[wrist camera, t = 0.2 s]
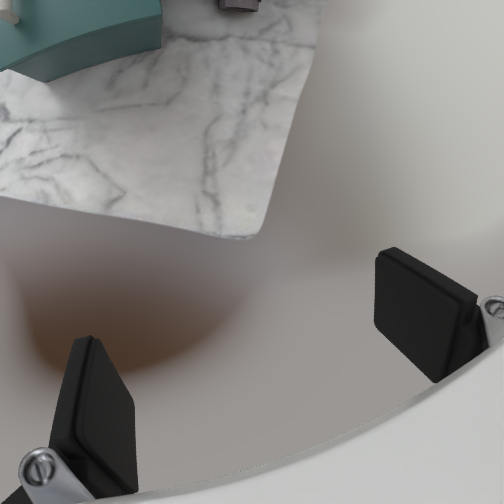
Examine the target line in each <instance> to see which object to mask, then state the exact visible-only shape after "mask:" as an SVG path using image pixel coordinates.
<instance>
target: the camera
mask: <svg viewBox="0 0 504 504" xmlns="http://www.w3.org/2000/svg"><path fill="white" fill-rule="evenodd" d="M259 2H261V0H219V8H218V9H220V10H225V11H234V12H258V6H259Z"/></svg>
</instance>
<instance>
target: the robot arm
mask: <svg viewBox="0 0 504 504" xmlns="http://www.w3.org/2000/svg"><path fill="white" fill-rule="evenodd" d="M477 298H478V295H476V294H475V293H473V292H471V291H470V290H468V289H466V288H465V287H463V286H462V285H460V284H458V283H457V282H455V281H453V280H452V279H450V278H448V277H447V276H445V275H443V274H442V273H440V272H438V271H437V270H435V269H433V268H431V267H430V266H428V265H426V264H425V263H423V262H421V261H419V260H418V259H416V258H414V257H412V256H411V255H409V254H407V253H405V252H403V251H402V250H400V249H398V248H396V247H392V248H389V249H386V250H383V251H380V252H379V254H378V257H376V260H375V304H374V307H375V308H374V324H375V326H376V328H377V329H378V330H379V331H380V332H381V333H382V334H383V335H384V336H385V337H386V338H387V339H388V340H389V341H390V342H391V343H393V345H395V346H396V347H397V348H398V349H399V350H400V351H401V352H402V353H403V354H404V355H405V356H406V357H407V358H408V359H409V360H410V361H411V362H412V363H414V365H415V366H416V367H417V368H419V370H420V371H422V372H423V373H424V374H425V375H426V376H427V377H428V378H429V379H430V380H431V381H432V382H433V383H437V384H435V385H434V386H432V387H430V388H429V389H427V390H425V391H424V392H422V393H420V394H419V395H417V396H415V397H414V398H412V399H410V400H408V401H407V402H405V403H403V404H401V405H399V406H398V407H396V408H394V409H392V410H390V411H388V412H387V413H385V414H383V415H381V416H379V417H377V418H375V419H373V420H371V421H369V422H367V423H365V424H363V425H361V426H359V427H357V428H355V429H352V430H350V431H348V432H346V433H344V434H342V435H339V436H337V437H335V438H332V439H330V440H328V441H326V442H323V443H321V444H318V445H316V446H313V447H311V448H308V449H306V450H303V451H301V452H298V453H295V454H292V455H290V456H287V457H284V458H281V459H279V460H276V461H272V462H270V463H266V464H263V465H260V466H257V467H254V468H251V469H247V470H244V471H240V472H237V473H233V474H230V475H226V476H222V477H218V478H214V479H210V480H206V481H202V482H197V483H192V484H187V485H183V486H178V487H173V488H168V489H162V490H157V491H150V492H144V493H137V494H134V493H136V492H138V475H137V461H136V439H135V406H134V402H133V399H132V397H131V395H130V393H129V391H128V390H127V388H126V386H125V385H124V383H123V381H122V379H121V378H120V376H119V374H118V372H117V371H116V369H115V367H114V365H113V363H112V361H111V360H110V358H109V356H108V354H107V352H106V351H105V348H104V346H103V344H102V342H101V341H100V339H98V338H97V339H95V338H94V337H93V336H91V335H90V336H86V337H81V338H78V339H75V340H74V343H73V346H72V349H71V353H70V356H69V360H68V363H67V367H66V371H65V375H64V378H63V382H62V386H61V390H60V394H59V398H58V402H57V407H56V411H55V415H54V420H53V425H52V430H51V436H50V441H49V447H48V448H47V447H40V448H36V449H34V450H32V451H30V452H29V453H28V454H27V455H26V456H25V457H24V458H23V459H22V461H21V463H20V466H19V470H18V474H19V475H18V477H19V479H20V482H21V484H22V485H21V486H20V487H19V488H18V489H17V490H16V491H15V492H14V493H12V494H11V495H10V496H9V497H8V498H7V499H6V500H5V501H3V502H2V503H1V504H504V297H502V296H489V297H487V298H485V299H484V300H482V302H481V304H480V307H479V306H478V305H476V303H477Z"/></svg>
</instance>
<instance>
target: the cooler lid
mask: <svg viewBox="0 0 504 504" xmlns="http://www.w3.org/2000/svg"><path fill="white" fill-rule="evenodd" d="M158 17H162V9H161V3H160V0H0V72H2V71H4V70H6V69H8V68H10V67H12V66H14V65H16V64H18V63H20V62H22V61H25V60H27V59H29V58H31V57H34V56H36V55H38V54H40V53H43V52H45V51H48V50H50V49H53V48H55V47H58V46H60V45H63V44H66V43H68V42H71V41H74V40H77V39H80V38H83V37H86V36H89V35H92V34H95V33H98V32H102V31H105V30H109V29H112V28H116V27H119V26H123V25H127V24H131V23H135V22H140V21H144V20H149V19H153V18H158Z"/></svg>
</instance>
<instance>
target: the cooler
mask: <svg viewBox="0 0 504 504" xmlns="http://www.w3.org/2000/svg"><path fill="white" fill-rule="evenodd" d="M161 27H162V17H158V18H153V19H149V20H144V21H140V22H135V23H131V24H127V25H123V26H119V27H116V28H112V29H109V30H105V31H102V32H98V33H95V34H92V35H89V36H86V37H83V38H80V39H77V40H74V41H71V42H68V43H66V44H63V45H60V46H58V47H55V48H53V49H50V50H48V51H45V52H43V53H40V54H38V55H36V56H34V57H31V58H29V59H27V60H25V61H22V62H20V63H18V64H16V65H14V66H12V67H10V68H8V69H10V70H13V71H15V72H18V73H21V74H23V75H26V76H28V77H30V78H33V79H35V80H38V81H40V82H43V83H47V82H50V81H52V80H55V79H57V78H60V77H62V76H65V75H68V74H71V73H73V72H76V71H79V70H82V69H85V68H88V67H91V66H94V65H97V64H101V63H104V62H107V61H111V60H114V59H118V58H121V57H125V56H129V55H133V54H137V53H141V52H145V51H149V50H154V49H158V48H161Z"/></svg>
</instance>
